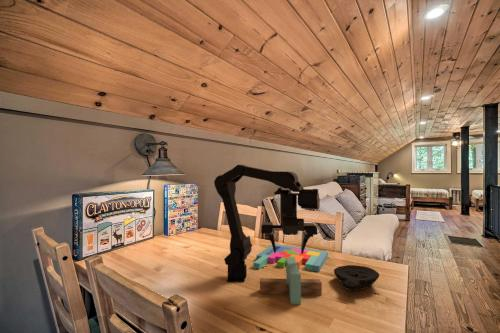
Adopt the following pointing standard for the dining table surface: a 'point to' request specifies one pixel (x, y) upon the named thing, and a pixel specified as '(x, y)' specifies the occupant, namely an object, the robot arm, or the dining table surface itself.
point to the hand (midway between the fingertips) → (288, 253)
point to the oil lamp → (356, 276)
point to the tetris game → (309, 257)
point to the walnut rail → (282, 288)
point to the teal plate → (293, 280)
